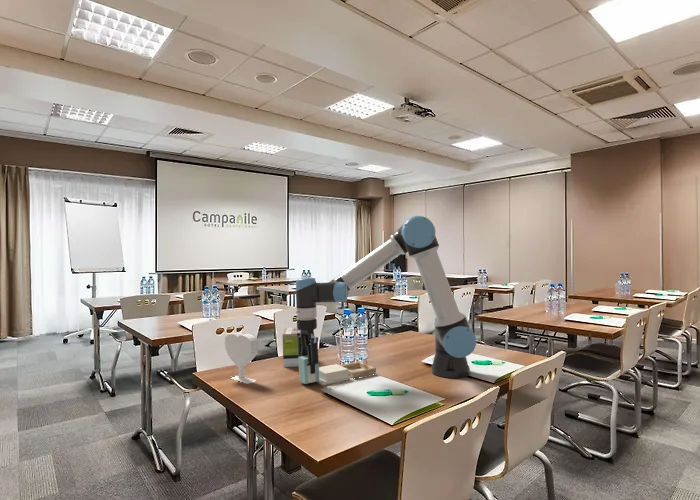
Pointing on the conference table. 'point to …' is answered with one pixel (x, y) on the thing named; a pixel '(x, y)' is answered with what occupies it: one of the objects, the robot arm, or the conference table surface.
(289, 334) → the tea box
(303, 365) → the teal block
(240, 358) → the heart sculpture
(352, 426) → the conference table surface
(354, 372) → the tray
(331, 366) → the cream rectangular box
